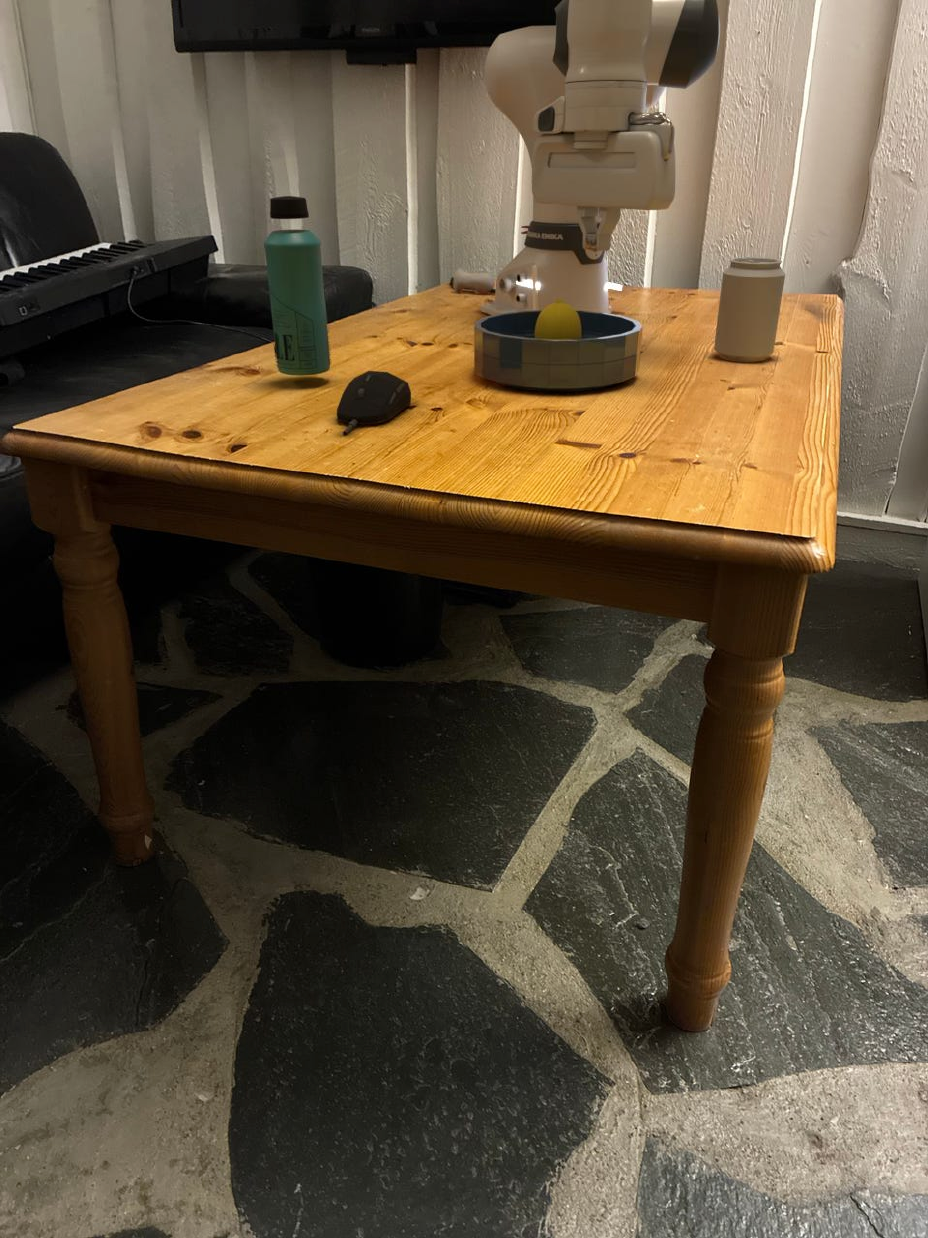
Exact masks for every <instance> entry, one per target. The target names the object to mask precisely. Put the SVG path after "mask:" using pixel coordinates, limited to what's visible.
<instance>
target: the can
mask: <svg viewBox="0 0 928 1238" xmlns="http://www.w3.org/2000/svg"><path fill="white" fill-rule="evenodd" d="M729 263H730V265H729V266H728V267H726V269H725V270H724V271H722V279H721V287H720V294H719V295H720V296H719V302H718V303H719V304H718V312H717V313H718V314H717V319H716V320H717V321H716V328H715V329H716V330H715V335H714V336H715V338H714V346H713V350H714V351H715V352H716V353H717V355H718V356H719V358H721V359H723V360H726V361H731V362H737V363H738V362H740V363H755V362H756V363H758V362H762V361H765V360H767V358H768V357H770V356H771V355H773V354H774V352H775V346H776V339H777V333H778V326H779V319H780V314H781V313H780V311H781V306H782V299H783V292H784V286H785V279H786V272H785V271H784V269H783V267H781V264H783V261H782V260H781V259H779V258H774V257H773V258H772V257H762V256H761V257H760V256H759V257H758V256H756V257H755V256H744V257H743V256H742V257H733V258H730V260H729Z"/></svg>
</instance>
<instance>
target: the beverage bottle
mask: <svg viewBox="0 0 928 1238" xmlns="http://www.w3.org/2000/svg"><path fill="white" fill-rule="evenodd" d="M269 210H270V211H269V216H270V217H269V218H270V219H272V220H273V219H274V220H298V219H299V220H300V219H308V218H310V216H309V215H310V214H309V210H308V203H307V198H305V197H301V196H293V195H284V196H277V197H271V198H270V200H269ZM321 246H322V242H321V240H320V238H319V237H318V236H317V235H316V234H314V232H313V231H311V229H279V230H272V231H271V232H270V233H269V234H268V235H267V237H266V238H265V240H264V241H263V248H264V251H265V253H264V254H265V260H266V261H265V262H266V270H267V271H266V272H267V273H266V274H267V287H268V290H267V292H268V293H269V294H268V295H267V296H268V298H269V301H270V302H269V303H270V311H271V318H272V319H271V320H272V321H271V322H272V323H271V325H272V335H273V339H272V341H273V344H274V346H273V349H274V350H273V351H274V352H273V353H274V358H275V366H276V367H277V370H278V372H279V373H280V374H282V375H286V376H287V375H288V376H313V375H320V374H324V373H326V372H327V373H328V372H329V371H330V370H331V369H330V368H331V364H332V362H333V361H332V360H331V359H332V355H331V354H332V353H331V352H332V351H331V344H330V341H331V340H330V335H329V333H330V331H329V329H330V328H329V327H330V326H328V319H329V317H328V316H327V315H328V312H327V301H326V299H325V289H324V288H325V286H324V275H323V273H324V272H323V263H322V250H321V249H322V248H321Z"/></svg>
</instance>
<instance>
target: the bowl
mask: <svg viewBox="0 0 928 1238" xmlns="http://www.w3.org/2000/svg"><path fill="white" fill-rule="evenodd" d="M541 312H542V310H532V311H517V312H508V313H501V314H495V315H487V316H484V317H481V318H479V319H478V320H476V321H474V322H473V330H474V331H473V345H474V346H473V352H474V353H473V356H474V358H473V360H474V362H473V368H474V369H473V371H474V373H475V374H477V375H478V376H479V377H481V378H483V379H486V380H489V381H493V382H496V383H497V384H500V385H503V386H506V387H511V388H514V389H521V390H528V391H538V392H560V393H561V392H581V391H582V392H583V391H590V390H591V391H593V390H597V389H603V388H606V387H610V386H613V385H615V384H620V383H623V382H625V381H628V380H630V379H633V378H635V377H636V376H637V375H638V373H639V371H640V365H641V364H640V363H641V350H642V339H643V328H644V325H642V324H641V323H640V322H639V321H638V320H636V319H633V318H631V317H628V316H624V315H619V314H613V313H611V314H609V313H600V312H591V311H576V312H577V313H578V315H579V318H580V323H581V339H539V338H535V327H536V322H537V319H538V317H539V315H540V313H541Z"/></svg>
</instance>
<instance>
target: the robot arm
mask: <svg viewBox="0 0 928 1238" xmlns="http://www.w3.org/2000/svg"><path fill="white" fill-rule="evenodd" d="M718 6H719V5H718V0H561V1H560V2H559V3H558V4H557V5H556V6H555V7H554V11H555V25H530V26H526V27H522V28H521V27H520V28H517V29H513V30H510V31H507V32H506V31H505V32H504V33H499V34H498V36H497V37H496V38H495V40H494V41H493V42H492V44H491V46H490V48H489V50H488V52H487V55H486V58H485V62H484V71H483V72H484V73H483V74H484V84H485V88H486V91H487V94H488V97H489V98H490V100H491V102H492V104H493V105H494V106H495V108H497V110H498V111H499V112H501V113H503V115H504V116H505V117H506V118H508V120H509V121H510V122H511V123H512V124H513V125H514V127H515V128H516V131H518V133H519V134H520V137H521V139H522V140H523V142H524V145H525V147H526V150H527V154H528V157H529V161H530V165H531V193H532V220H531V221H530V222H529V225H521V227H520V229H527V230H525V231H521V232H520V234H521V235H526V236H525V239H524V241H523V242H524V243H523V245H524V247H523V248H522V250H520V251H519V252H518V254H516V255H515V256H514V257H513V258H512V259H511V260H510V261H509V262H508V263H507V264H506V265H505V266H504V267H503V268H502V269H500V271H499V272H498V274H497V277H496V281H495V288H493V289H492V290H491V291H490V292H489V293H488V294H494V301H489V302H486V303H482V304H481V305H480V310H479V311H480V312H482V313H484V314H487V315H489V316H491V315H495V314H501V313H508V312H517V311H532V310H543V309H544V308H545V307H546V306H548V305H550V304H552V303H554V302H555V301H556V300H557V299H562V300H563V301H564V303H567V304H569V305H570V306H572V307H573V308H574V309H575V310H576V311H591V312H600V313H609V314H612V306H611V305H610V303H609V302H610V301H609V289H611V290H615V291H622V290H623V285H622V284H618V283H613V282H609V278H608V277H609V276H608V275H609V274H608V261H607V257H606V252H607V251H610V249H611V244H612V234H614V231H615V229H616V227H617V225H618V223H619V222H620V220H621V211H622V210H638V211H663V210H668V209H669V208H670V206H671V205H672V204H673V202H674V200H675V198H676V183H677V181H676V180H677V178H676V177H677V173H676V172H677V169H676V167H677V165H676V163H677V161H676V148H675V147H676V146H675V135H676V134H675V133H676V130H675V129H676V128H675V125H674V124H673V122H672V119H670V118H669V117H668V116H667V114H666V113H665V112H662V111H654V112H651V113H649V112H646V110H648V109H651V108H653V107H654V106H655V105H656V104H657V102H658V101H659V99H660V98H661V97H662V96H663V93H664V91H665V90H666V88H670V89H671V88H672V89H682V90H686V89H687V88H689V87H690V86H692V85H693V84H695V83H696V82H697V81H698V80H700V79H701V78H702V77H703V76H704V75H705V74H706V73H707V72H708V71H709V70H710V69H711V68H712V66H713V65H714V63H715V61H716V58H717V54H718V53H717V52H718V50H719V44H720V40H721V39H720V37H721V20H720V13H719V7H718ZM621 209H622V210H621ZM453 283H454V276H452V277H451V278H450V281H449V285H451V286H452V287H453ZM464 290H465V291H471V290H470V289H464Z"/></svg>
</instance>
